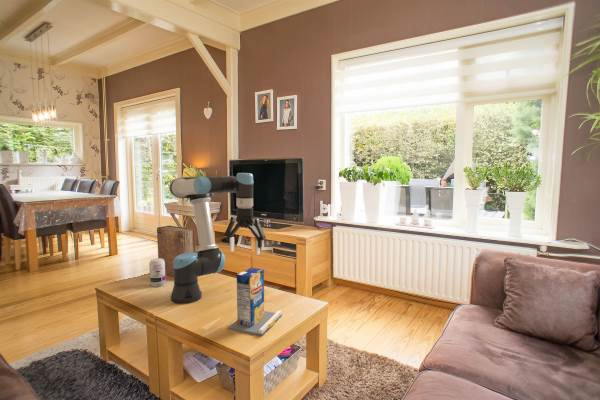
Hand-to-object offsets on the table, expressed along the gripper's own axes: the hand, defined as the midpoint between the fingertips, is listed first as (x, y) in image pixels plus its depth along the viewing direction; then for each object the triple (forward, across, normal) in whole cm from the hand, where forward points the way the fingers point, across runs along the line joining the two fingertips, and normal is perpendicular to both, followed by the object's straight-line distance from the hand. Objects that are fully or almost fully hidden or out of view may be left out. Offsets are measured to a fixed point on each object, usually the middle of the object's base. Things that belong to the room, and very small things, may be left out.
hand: (244, 252), depth 154 cm
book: (+31, -70, +35) cm, 85 cm away
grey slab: (+29, +10, -6) cm, 31 cm away
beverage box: (+28, +8, -8) cm, 30 cm away
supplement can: (+31, -67, +15) cm, 75 cm away
